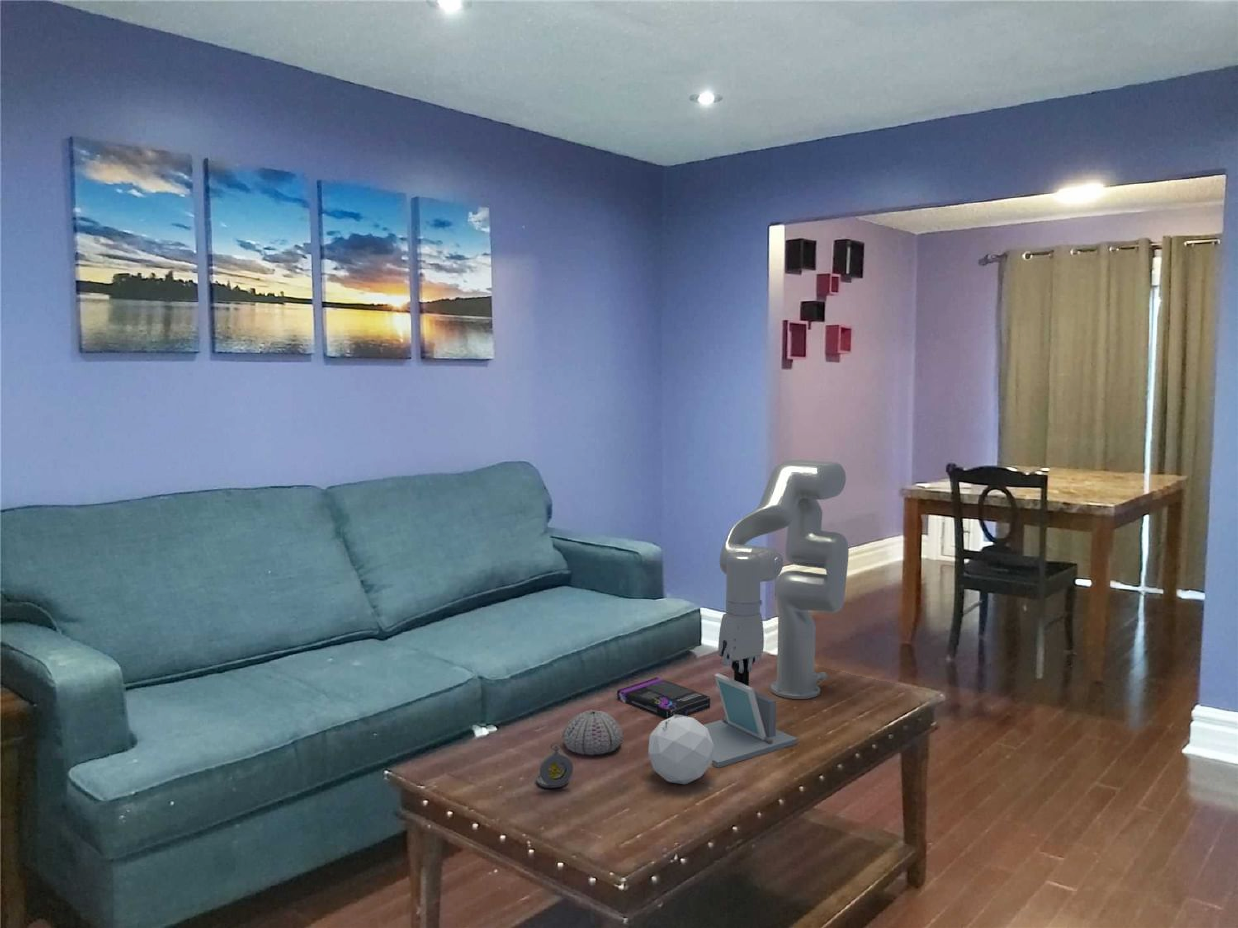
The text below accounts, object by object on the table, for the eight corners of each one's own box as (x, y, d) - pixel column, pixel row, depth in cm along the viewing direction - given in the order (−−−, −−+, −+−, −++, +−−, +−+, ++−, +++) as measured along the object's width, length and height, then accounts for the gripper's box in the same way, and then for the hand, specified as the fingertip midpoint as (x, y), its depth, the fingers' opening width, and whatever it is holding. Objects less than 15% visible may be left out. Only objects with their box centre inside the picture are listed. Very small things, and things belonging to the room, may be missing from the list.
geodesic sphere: (676, 778, 182) (702, 711, 187) (621, 759, 191) (648, 695, 196) (710, 801, 191) (734, 737, 196) (657, 782, 200) (681, 720, 205)
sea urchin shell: (617, 761, 203) (617, 725, 202) (555, 757, 206) (555, 721, 205) (627, 737, 216) (627, 703, 215) (569, 733, 219) (569, 699, 218)
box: (616, 702, 241) (670, 723, 226) (616, 689, 240) (670, 709, 226) (656, 689, 250) (711, 708, 235) (656, 676, 249) (711, 695, 235)
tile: (717, 672, 218) (714, 675, 217) (752, 687, 208) (749, 690, 207) (730, 720, 221) (727, 723, 221) (766, 737, 212) (763, 740, 211)
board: (743, 718, 228) (744, 680, 227) (797, 743, 213) (798, 703, 212) (666, 739, 215) (666, 699, 214) (718, 767, 200) (718, 724, 199)
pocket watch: (551, 772, 197) (551, 725, 196) (582, 783, 192) (582, 736, 191) (523, 785, 191) (523, 737, 190) (554, 798, 186) (554, 748, 185)
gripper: (756, 599, 219) (754, 677, 221) (706, 608, 211) (704, 689, 213) (779, 606, 213) (777, 686, 215) (728, 616, 205) (726, 698, 207)
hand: (741, 687), depth 214 cm, fingers closed
